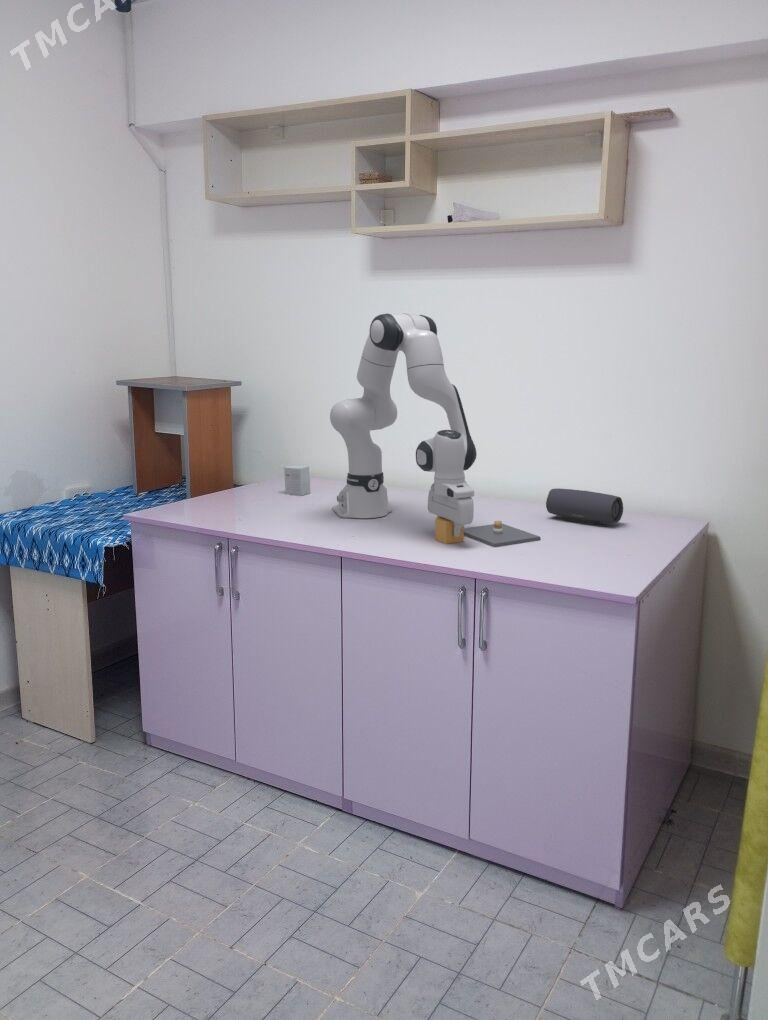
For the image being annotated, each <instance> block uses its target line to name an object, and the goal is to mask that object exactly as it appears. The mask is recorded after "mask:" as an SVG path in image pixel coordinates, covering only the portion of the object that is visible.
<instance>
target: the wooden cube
mask: <svg viewBox="0 0 768 1020" xmlns="http://www.w3.org/2000/svg"><path fill="white" fill-rule="evenodd" d="M434 526H435V529H434V530H435V531H434V532H435V533H434V535H435V536H434V537H435V541H438V542H441V543H443V544H445V545H448V544H455V543H461V542H462V543H463V542H464V539H465V538H464V537H465V535H464V527H465V526H464V525H462V527H461V530H460V536H458V537H455V536H453V535H452V530H454V527H455V525H454V522H453V521H451V520H448V519H445V518H443V517H439V518H437V517H435V523H434Z"/></svg>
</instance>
